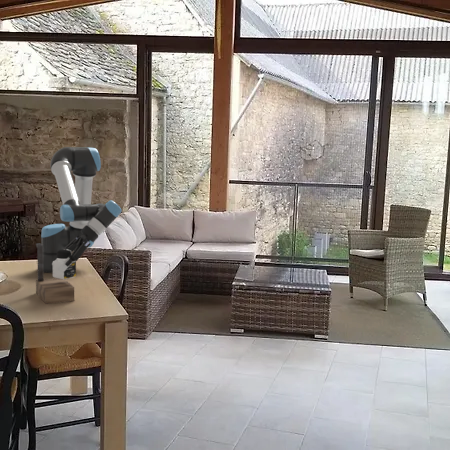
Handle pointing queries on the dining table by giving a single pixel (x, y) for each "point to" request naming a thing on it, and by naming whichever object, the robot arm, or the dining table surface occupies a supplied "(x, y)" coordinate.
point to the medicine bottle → (61, 257)
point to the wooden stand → (52, 284)
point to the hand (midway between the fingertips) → (57, 268)
